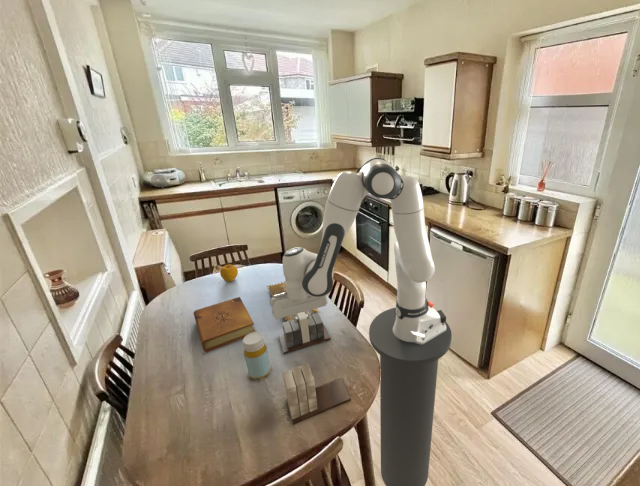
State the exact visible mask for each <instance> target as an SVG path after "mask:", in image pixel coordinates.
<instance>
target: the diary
mask: <svg viewBox="0 0 640 486" xmlns="http://www.w3.org/2000/svg"><path fill="white" fill-rule="evenodd" d="M193 317H194V320H195V325H196V328H197V333H198V337H199V340H200V344H201V347H202V350H203V353H209V352H212V351H214V350H217V349H220V348H222V347H225V346H228V345H230V344H233V343H235V342H238V341H241V340H243V339H244V337H245V336H246V335H248V334H250V333H253V332H256V330H255V328H254V325H255V324H254V321H253V318H252V317H251V315H250V313H249V312H248V309H247V308H246V306H245V304H244V302H243V300H242V298H241V296H238V297H234V298H230V299H227V300H224V301H221V302H217V303H215V304H212V305H208V306H205V307H202V308H199V309H196V310H194V311H193Z"/></svg>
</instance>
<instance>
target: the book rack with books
mask: <svg viewBox="0 0 640 486" xmlns="http://www.w3.org/2000/svg"><path fill="white" fill-rule="evenodd" d="M282 378H283V384H284V390H285V395H286V396H285V397H286V404H287V407H288V411H289V415H290V416H289V417H290V420H291V423H292V425H293V426H294V425H296V424H298V423H301V422H303V421H306V420H308V419H310V418H314V417H315V416H318V415H320V414H322V413H325V412H327V411H329V410H332V409H335V408H337V407H339V406H341V405H344V404H347V403H349V402H351V401H352V399H351V396H350V394H349V392H348V390H347V387H346V385H345V383H344V381H343V379H342V378H341V377H340V378H337V379H335V380H332V381H330V382H327V383H325V384H322V385H319V386H316V384H315V378H314V376H313V372H312V370H311V368H310V365H309V363H308V362H307V363H304V364H302V365H300V366H296V367H293V368H289V369H286V370H285V371H282Z"/></svg>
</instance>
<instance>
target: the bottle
mask: <svg viewBox="0 0 640 486" xmlns="http://www.w3.org/2000/svg"><path fill="white" fill-rule="evenodd" d="M242 343H243V347H244V348H243V349H244V350H243V354H244V360H245V363H246V368H247V372H248V376H249V378H251V379H252V380H261V379H264V378H265V377H267V376H268V375H269V373H270V372H271V363H270V359H269V352H268V349H267V347H268V346H267V344H266V343H265V340H264V334H263V333H261V332H259V331H255V332H253V333H250V334H248V335H246V336H245V337H244V339H242Z"/></svg>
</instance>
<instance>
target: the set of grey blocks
mask: <svg viewBox="0 0 640 486" xmlns="http://www.w3.org/2000/svg"><path fill="white" fill-rule="evenodd" d="M311 314H312V313H311ZM281 326H282V330H283V335H280V336H278V339H279V343H280V346H281V349H282V353H283V355H287V354H290V353H293V352H296V351H299V350H302V349H306V348H309V347H311V346H315V345H317V344H321V343H324V342H327V341H330V340H331V337H330V335H329V333H328V330H327V329H326V327H325V325H324V322H323V320H322V317H321V316H320V314H319V312H318V313H315V314H312V316H311V315H310V319H308V328H309V336H310V341H309V342H306V343H303V342H302V339H301V331H300V327H299V325H298V323H295V321H294V319H293V320H292V319H291V321H290V322H289V321H287V322H286V321H284V322H282V325H281Z"/></svg>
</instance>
